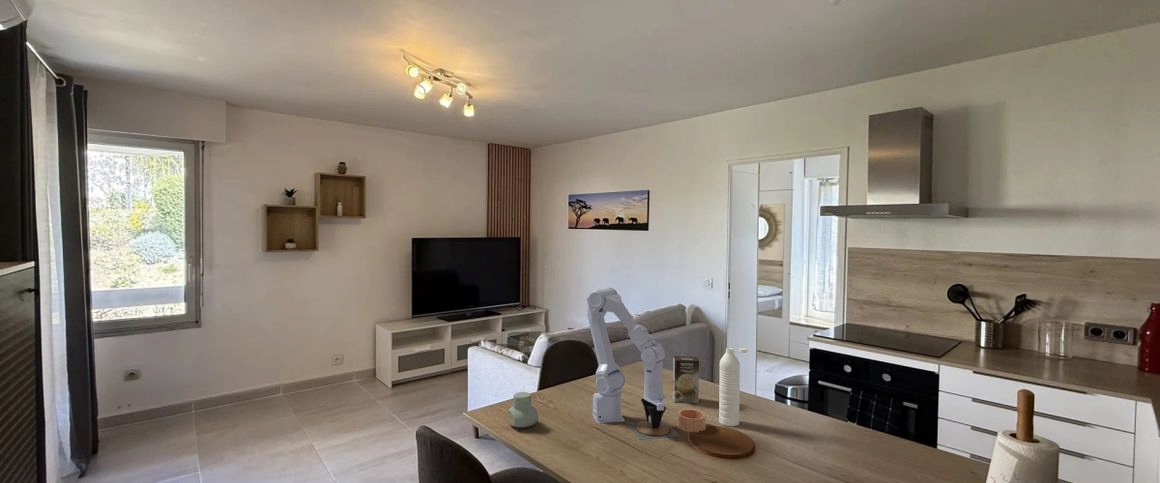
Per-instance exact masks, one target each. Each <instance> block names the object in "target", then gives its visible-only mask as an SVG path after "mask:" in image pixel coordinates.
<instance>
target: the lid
mask: <svg viewBox="0 0 1160 483" xmlns="http://www.w3.org/2000/svg"><path fill="white" fill-rule="evenodd" d="M638 422H639V423H637V424H636V430H637V431H638V432H639V433H641V434H643V435H647V436H664V435H667V434H669V433H670V431H671V428H670V426H671V425H670V426H669V425H668V424H666V423H664V422H660V426H659V428H652V425H651V417H650V415H649V422H647V419H646V420H642V421H638Z"/></svg>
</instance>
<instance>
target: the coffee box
mask: <svg viewBox="0 0 1160 483" xmlns="http://www.w3.org/2000/svg"><path fill="white" fill-rule="evenodd" d="M699 378H700V360H699V358H698V357H697V356H686V355H685V356H684V355H683V356H682V355H673V359H672V395H671V396H672V400H673V403H680V404H686V403H687V404H698V405H699V391H700V390H699V384H700V382H699V381H700V380H699Z"/></svg>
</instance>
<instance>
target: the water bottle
mask: <svg viewBox="0 0 1160 483" xmlns="http://www.w3.org/2000/svg"><path fill="white" fill-rule="evenodd" d="M738 349H739V353H742V354H743V353H744V354H745V353H748V349H747V348H744V347H739V348H738ZM734 352H735V351H734V348H733V347H726V348H725V353H724V354H723V355H722V357H721V359H719V387H718V389H719V393H718V395H719V396H718V397H719V399H718V400H719V404H718V406H719V410H718V414H719V415H718V421H719V423H720V425H723V426H727V427H735V426H736V427H737V426H739V425H740V397H741V396H740V392H741V388H740V385H741V384H740V382H741V380H740V379H741V378H740V377H741V376H740V375H741V373H740V369H741V364H740V360H739V358H738V357H737V356H736V355H735V353H734Z"/></svg>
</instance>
